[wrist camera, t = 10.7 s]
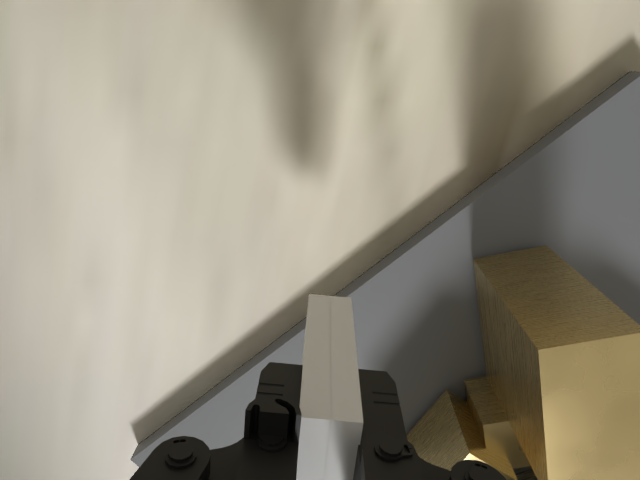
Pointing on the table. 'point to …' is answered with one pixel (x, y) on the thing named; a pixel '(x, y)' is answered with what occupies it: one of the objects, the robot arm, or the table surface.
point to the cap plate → (471, 268)
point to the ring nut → (543, 378)
